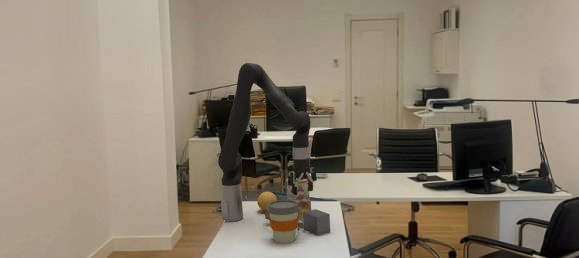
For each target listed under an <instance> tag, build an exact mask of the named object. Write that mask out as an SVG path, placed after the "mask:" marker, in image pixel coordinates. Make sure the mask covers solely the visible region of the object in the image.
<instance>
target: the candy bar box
mask: <svg viewBox="0 0 579 258" xmlns="http://www.w3.org/2000/svg"><path fill="white" fill-rule="evenodd" d="M296 180H297V179H296ZM308 183H309V182H308V180H307V179H303V180H300V182H299V183H298V184H297V186H296V187H297V195H294V194H293V193H292V186H290V185H288V178H286V180H285V186H286V188H285V190H286V200H292V201H293V200H297V199H298V200H302V199H307V200H310V191H309V190H308Z"/></svg>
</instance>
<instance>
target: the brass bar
mask: <svg viewBox="0 0 579 258" xmlns="http://www.w3.org/2000/svg"><path fill="white" fill-rule="evenodd" d="M307 211H310V210H307V209H304V208H301V207H299V211H298V221H299V222H302V223H304V221H303V212H307Z"/></svg>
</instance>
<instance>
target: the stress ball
mask: <svg viewBox="0 0 579 258" xmlns="http://www.w3.org/2000/svg"><path fill="white" fill-rule="evenodd" d="M274 201H278V199H277V196H276V195H275V194H274V193H273V192H271V191H263V192H262V193H260V194H259V195H258V197H257V202H256V203H257V206H258V207H259V209H260V210H261V211H263V212H265V208H267V207H269V204H270V203H271V202H274Z"/></svg>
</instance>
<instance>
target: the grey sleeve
mask: <svg viewBox="0 0 579 258" xmlns="http://www.w3.org/2000/svg"><path fill="white" fill-rule="evenodd" d="M303 221H304V222H303V231H305V232H307V233H310V234H312V235H314V236H316V237H317V236H323V235H325V234H329V233H331V216H330V213H329V212H328V213H327V212H326V211H321V210H319V209H316V208H314V209H311V211H307V212H303Z"/></svg>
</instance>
